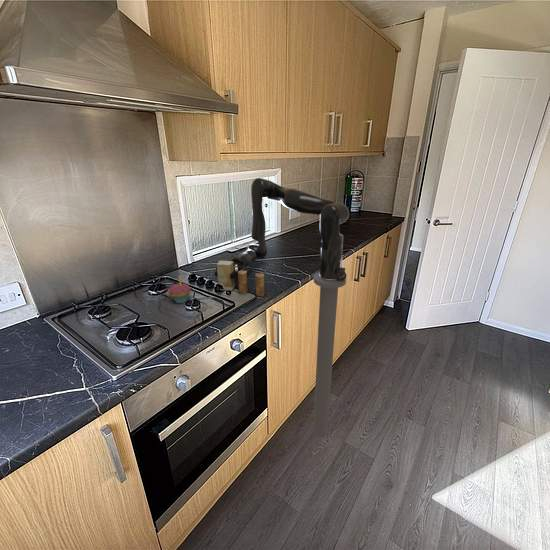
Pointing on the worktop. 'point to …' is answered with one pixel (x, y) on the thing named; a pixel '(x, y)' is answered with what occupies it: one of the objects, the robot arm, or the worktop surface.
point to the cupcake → (179, 292)
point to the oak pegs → (258, 278)
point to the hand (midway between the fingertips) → (223, 275)
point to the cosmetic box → (225, 274)
